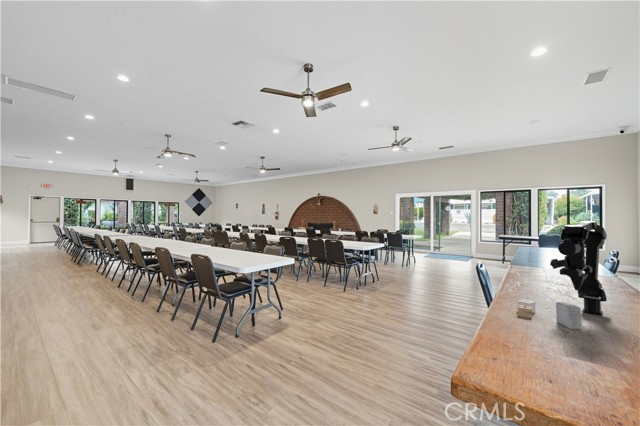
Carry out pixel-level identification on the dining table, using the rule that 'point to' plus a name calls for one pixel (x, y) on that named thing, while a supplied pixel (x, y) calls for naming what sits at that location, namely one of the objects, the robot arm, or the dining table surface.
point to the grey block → (527, 304)
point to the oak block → (525, 311)
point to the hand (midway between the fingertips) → (576, 290)
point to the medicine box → (568, 315)
